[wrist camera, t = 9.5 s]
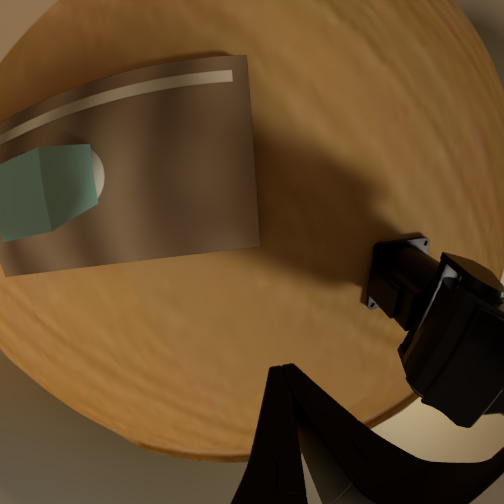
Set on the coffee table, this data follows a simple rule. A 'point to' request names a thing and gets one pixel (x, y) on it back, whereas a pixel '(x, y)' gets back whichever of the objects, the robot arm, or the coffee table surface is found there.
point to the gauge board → (147, 165)
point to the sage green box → (45, 189)
